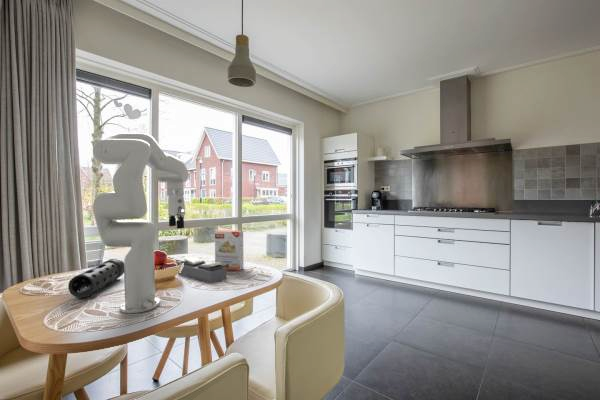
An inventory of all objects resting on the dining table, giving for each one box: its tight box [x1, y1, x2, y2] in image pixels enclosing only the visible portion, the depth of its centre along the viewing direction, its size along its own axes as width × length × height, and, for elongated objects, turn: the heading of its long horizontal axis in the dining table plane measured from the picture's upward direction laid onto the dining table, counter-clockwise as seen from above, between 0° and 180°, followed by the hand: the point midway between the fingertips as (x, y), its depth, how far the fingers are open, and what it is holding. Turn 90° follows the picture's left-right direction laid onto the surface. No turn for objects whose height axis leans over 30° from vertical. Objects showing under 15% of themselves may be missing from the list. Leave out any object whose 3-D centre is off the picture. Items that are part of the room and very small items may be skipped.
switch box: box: [179, 260, 227, 284], centre depth 140 cm, size 26×9×6 cm, turn 55°
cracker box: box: [214, 229, 244, 272], centre depth 151 cm, size 14×6×21 cm, turn 81°
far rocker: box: [183, 256, 203, 264], centre depth 144 cm, size 8×5×2 cm, turn 55°
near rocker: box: [201, 261, 220, 268], centre depth 136 cm, size 8×5×2 cm, turn 55°
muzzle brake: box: [67, 258, 124, 300], centre depth 122 cm, size 10×28×10 cm, turn 9°
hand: (176, 227), depth 140 cm, fingers open, 9 cm apart
